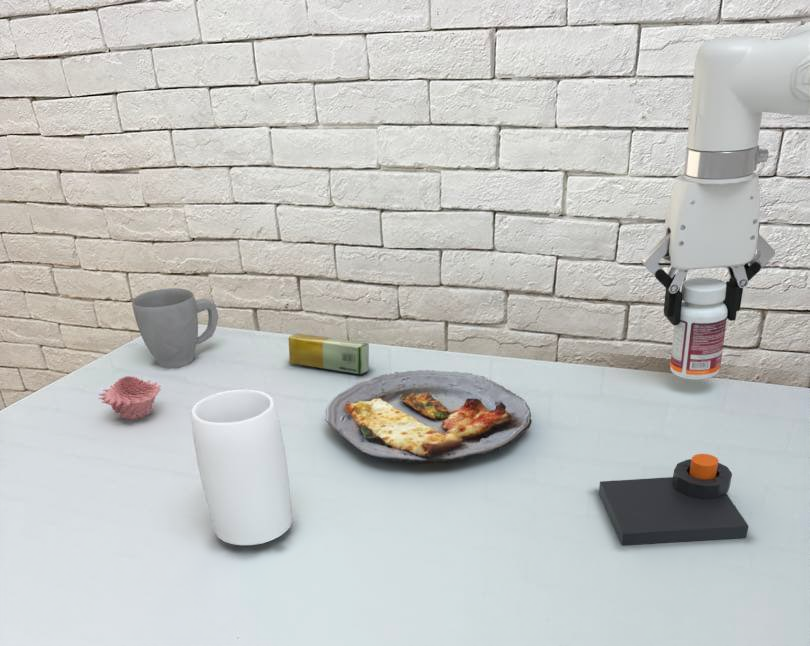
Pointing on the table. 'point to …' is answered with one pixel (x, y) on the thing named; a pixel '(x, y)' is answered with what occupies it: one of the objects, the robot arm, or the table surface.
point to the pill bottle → (700, 329)
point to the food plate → (428, 416)
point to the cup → (242, 466)
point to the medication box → (329, 353)
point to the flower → (131, 397)
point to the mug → (172, 324)
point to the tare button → (703, 466)
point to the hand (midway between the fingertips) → (700, 318)
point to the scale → (673, 508)
